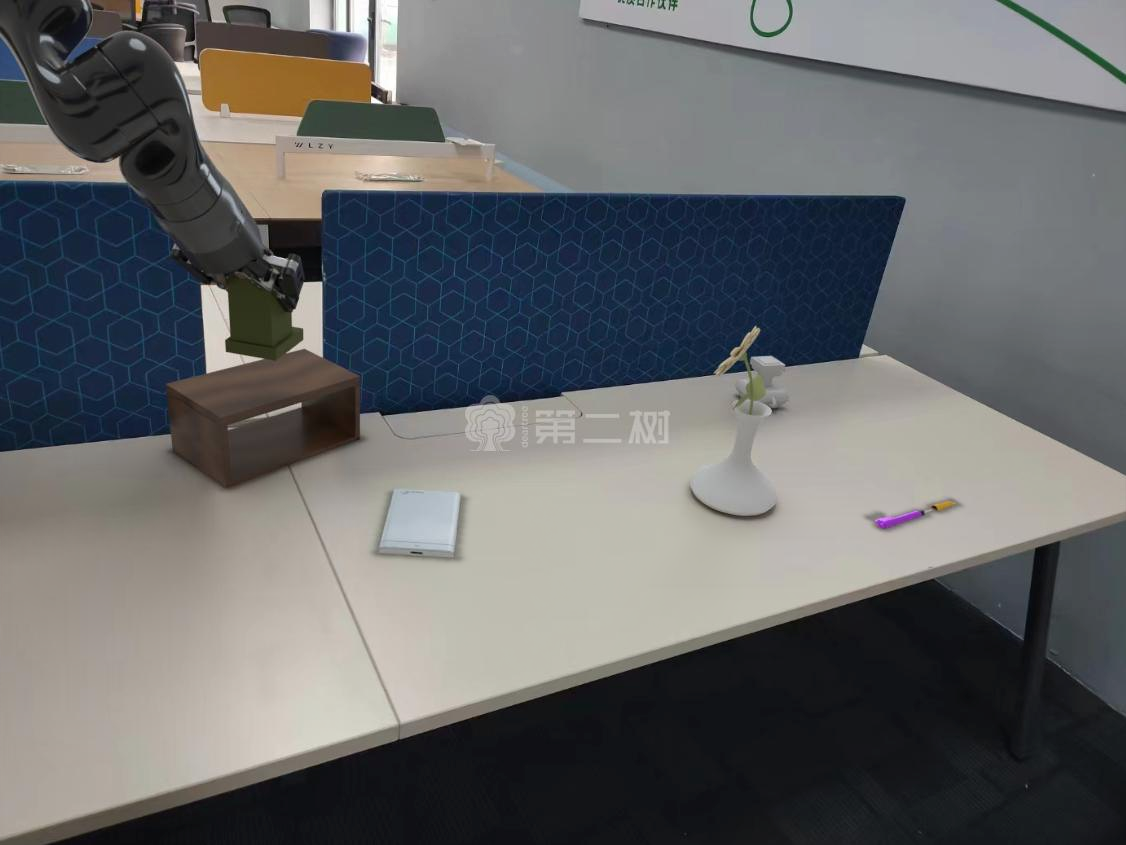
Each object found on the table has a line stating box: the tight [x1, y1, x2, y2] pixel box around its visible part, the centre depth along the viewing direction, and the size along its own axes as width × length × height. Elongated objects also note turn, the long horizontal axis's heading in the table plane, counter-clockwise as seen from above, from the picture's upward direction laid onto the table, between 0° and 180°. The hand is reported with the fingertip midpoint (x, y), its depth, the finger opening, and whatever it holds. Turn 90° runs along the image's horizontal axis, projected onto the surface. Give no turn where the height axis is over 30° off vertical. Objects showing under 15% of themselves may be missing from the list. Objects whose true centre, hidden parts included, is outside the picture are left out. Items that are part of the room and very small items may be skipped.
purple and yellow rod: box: [873, 500, 957, 530], centre depth 114 cm, size 3×1×16 cm
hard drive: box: [378, 488, 462, 559], centre depth 98 cm, size 2×8×12 cm
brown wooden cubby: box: [165, 348, 361, 489], centre depth 109 cm, size 12×20×10 cm, turn 141°
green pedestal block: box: [224, 277, 304, 361], centre depth 96 cm, size 7×6×9 cm
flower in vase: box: [689, 325, 777, 517], centre depth 106 cm, size 13×11×25 cm
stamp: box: [734, 355, 790, 409], centre depth 140 cm, size 9×7×8 cm
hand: (268, 301), depth 97 cm, fingers closed on green pedestal block, 5 cm apart
